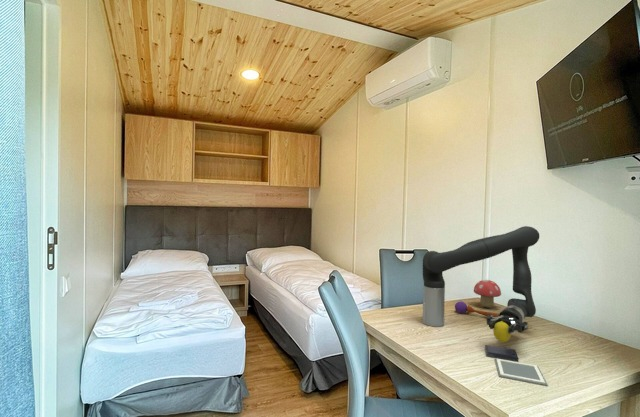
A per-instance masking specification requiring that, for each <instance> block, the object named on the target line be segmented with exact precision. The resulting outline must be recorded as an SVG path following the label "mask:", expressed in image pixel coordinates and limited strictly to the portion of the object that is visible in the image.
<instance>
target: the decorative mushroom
mask: <svg viewBox="0 0 640 417" xmlns="http://www.w3.org/2000/svg"><path fill="white" fill-rule="evenodd" d="M473 293H475V295H478V296H480V297H479V298H480V301H479V303H480V305H481V306H482V307H485V309H486V308H491V307H493V306H494V305H495V299H494V298H497V297H500V296H502V290H501V288H500V286H499V285H498V284H497V283H496V282H495V281H494V280H493V281H492V280H491V279H482V280H479V281H478V282H477V283H475V285H474V287H473Z"/></svg>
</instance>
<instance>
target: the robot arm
mask: <svg viewBox="0 0 640 417" xmlns="http://www.w3.org/2000/svg"><path fill="white" fill-rule="evenodd" d="M539 239H540V233H539V231H538V229H537V228H535V227H532V226H528V225H524V226H520V227H519V228H516V229H514V230H512V231H509V232H506V233H503V234H496V235H492V236H486V237H482V238H479V239H476V240H475V239H474V240H472V241H469V242H466V243H464V244H463V245H461V246H460V247H458V248H456V249H452V250H449V251H443V252H438V251H435V250H430V251H427V252H426V253H425V254H424V255H423V257H422V279H423V280H422V281H423V302H422V324H424V325H426V326H430V327H431V326H432V327H443V326H445V302H446V301H445V296H446V294H445V293H446V292H445V291H446V289H445V288H446V282H445V279H444V275H443V272H446V271H448V270H451V269H453V268H456V267H459V266H461V265H466V264H471V263H476V262H479V261H483V260H487V259H490V258H492V257H495V256H498V255H500V254H504V253H505V252H507V251H511V253H512V254H511V255H512V266H513V268H512V270H513V274H512V291H513V292H514V293H516V294H519V295H521V296H523V297H524V298H525V299H522V298H509V299H508V300H507V304H506V305H507V306H506V307H505V308H504V309H502V310H501V311H500V312H499V313H498V314H499V315H498V316H496V317H492V316H491V315H490V314H488V316H486V325H488V328H489V329H490V330H493V329H494V326H495V324H496V323H498V322H501V321H503V322H504V323H506V324H507V325H508V326H509V327H508V333H510V334H513V333H516V332H518V333H523V332H525V331H527V330H528V328H529V327H528V326H529V325H528V324H529V323H528V322H527V321H524V320H525V319H526V318H533V317H534V316H535V315H536V312H537V309H536V306H535V302H534V298H533V294H532V273H531V272H532V271H531V268H530V265H529V262H528V252H529V248H530V247H532V246H534V245H536V244H537V243H538V242H539V241H540V240H539Z"/></svg>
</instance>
